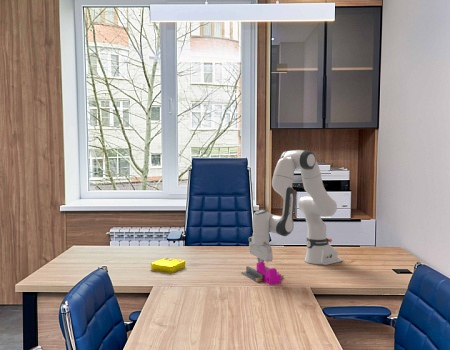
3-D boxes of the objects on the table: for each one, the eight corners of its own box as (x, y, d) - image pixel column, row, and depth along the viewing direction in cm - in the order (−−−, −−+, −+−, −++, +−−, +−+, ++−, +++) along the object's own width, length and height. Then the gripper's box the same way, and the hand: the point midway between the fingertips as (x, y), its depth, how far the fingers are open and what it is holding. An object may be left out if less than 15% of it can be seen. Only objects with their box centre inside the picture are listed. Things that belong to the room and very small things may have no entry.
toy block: (280, 283, 239) (281, 268, 238) (270, 284, 236) (270, 270, 236) (266, 275, 253) (267, 261, 252) (256, 276, 250) (256, 262, 249)
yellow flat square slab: (149, 270, 263) (149, 262, 263) (165, 264, 276) (165, 256, 276) (171, 274, 256) (171, 265, 256) (186, 267, 269) (186, 259, 269)
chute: (266, 269, 263) (266, 263, 263) (283, 278, 247) (283, 272, 246) (241, 273, 256) (241, 267, 256) (257, 282, 240) (257, 275, 240)
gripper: (275, 243, 243) (275, 270, 244) (257, 236, 262) (257, 260, 263) (264, 245, 240) (264, 271, 242) (247, 237, 259) (247, 261, 260)
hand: (260, 265), depth 252 cm, fingers closed
